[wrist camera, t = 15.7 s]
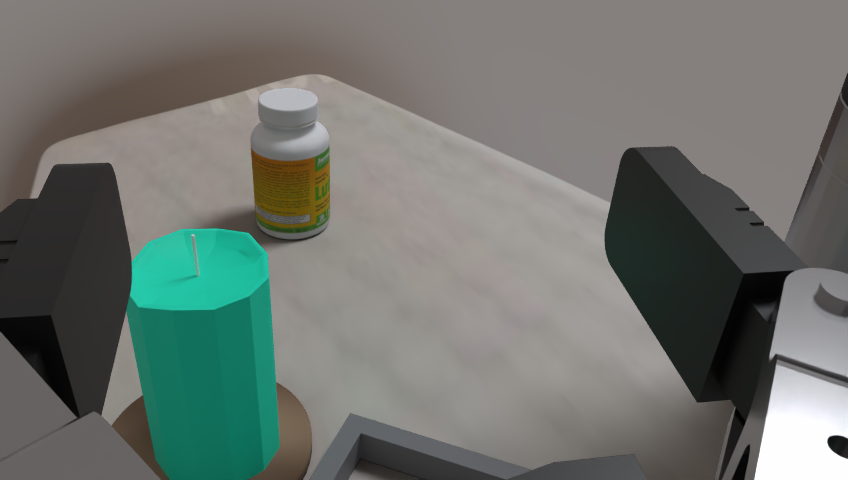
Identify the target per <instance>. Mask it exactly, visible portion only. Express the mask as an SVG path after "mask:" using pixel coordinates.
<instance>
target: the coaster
mask: <svg viewBox="0 0 848 480" xmlns="http://www.w3.org/2000/svg"><path fill="white" fill-rule="evenodd" d="M276 391H277V406H278V421H279V441H280V447H279V449H278V450H277V452H276V453H275V455H274V456H273V458H272V459H271V461H270V462H269V464H268V465H267V467H266V468H265V470H264V471H262V472H260V473H259V474H257V475H255V476H253V477H252V478H250V479H248V480H303V478H304V476H305V474H306V472H307V469H308V466H309V464H310V459H311V453H312V433H311V426H310V421H309V418H308V415H307V412H306V411H305V409H304V407H303V405H302V404H301V403H300V401H299V400H298V399H297V398H296V397H295V396H294V395H293V394H292V393H291V392H290V391H289V390H287V389H286V388H285V387H283V386H282V385H280V384H278V383H276ZM112 427H113V428H114V429H115V431H116V432H117V433H118V434H119V435H120V436H121V437H122V438H123V439H124V440H125V441H126V442H127V444H128V445H129V446H130V447H131V448H132V449H133V450H134V451H135V452H136V453H137V454H138V455H139V456H140V458H141V459H142V460H143V461H144V462H145V463H146V464H147V465H148V466H149V467H150V468H151V469H152V471H153V472H154V473H155V474H156V475H157V476H158V477H159V478H160V479H161V480H169V478H168V477H167V475H166V474H165V473H164V471H163V470H162V468H161V467H160V465H159V464H158V463H157V461H156V459H155V454H154V449H153V444H152V439H151V434H150V428H149V423H148V418H147V413H146V408H145V403H144V398H143V396H141V397H140V398H138V399H137V400H136V401H134V402H133V403H132V404H131V405H130V406H129V407H127V408H126V409H125V410H124V411H123V412H122V413H121V415H120V416H119V417H118V418H117V419H116V420H115V422H114V423H113V425H112Z"/></svg>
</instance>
